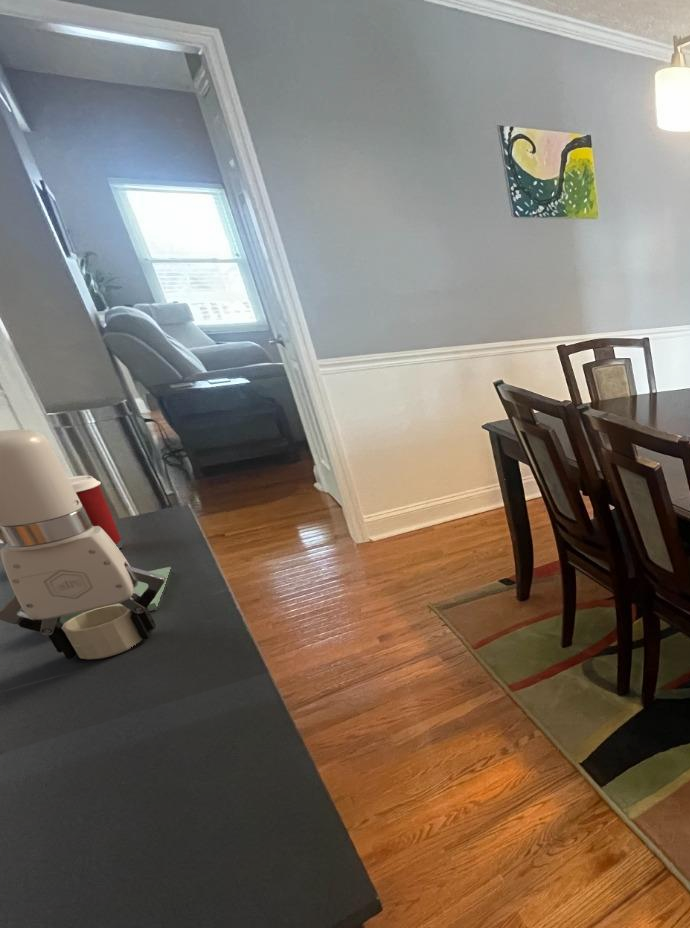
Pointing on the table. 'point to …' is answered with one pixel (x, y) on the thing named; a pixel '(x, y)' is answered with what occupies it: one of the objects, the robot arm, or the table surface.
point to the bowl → (102, 632)
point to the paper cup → (95, 504)
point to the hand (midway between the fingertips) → (111, 642)
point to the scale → (139, 589)
